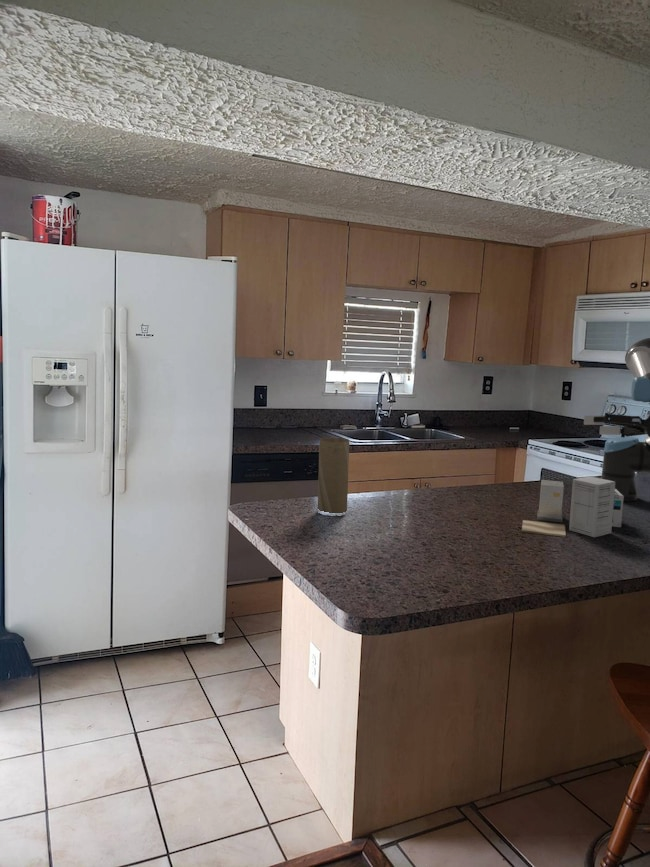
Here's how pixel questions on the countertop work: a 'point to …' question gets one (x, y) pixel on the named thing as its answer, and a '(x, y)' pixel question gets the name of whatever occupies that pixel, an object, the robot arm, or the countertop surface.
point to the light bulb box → (617, 509)
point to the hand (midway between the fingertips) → (592, 425)
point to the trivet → (543, 528)
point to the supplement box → (592, 506)
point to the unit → (551, 501)
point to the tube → (333, 474)
